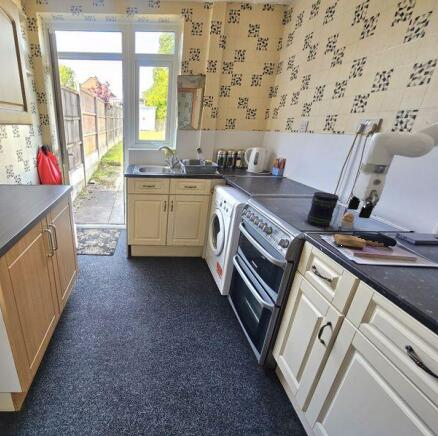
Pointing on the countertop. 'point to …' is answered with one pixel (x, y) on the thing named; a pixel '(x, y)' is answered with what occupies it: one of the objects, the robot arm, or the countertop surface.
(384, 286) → the countertop surface
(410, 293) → the countertop surface
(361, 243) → the brush
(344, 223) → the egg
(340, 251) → the countertop surface
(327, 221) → the storage jar
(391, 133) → the robot arm
